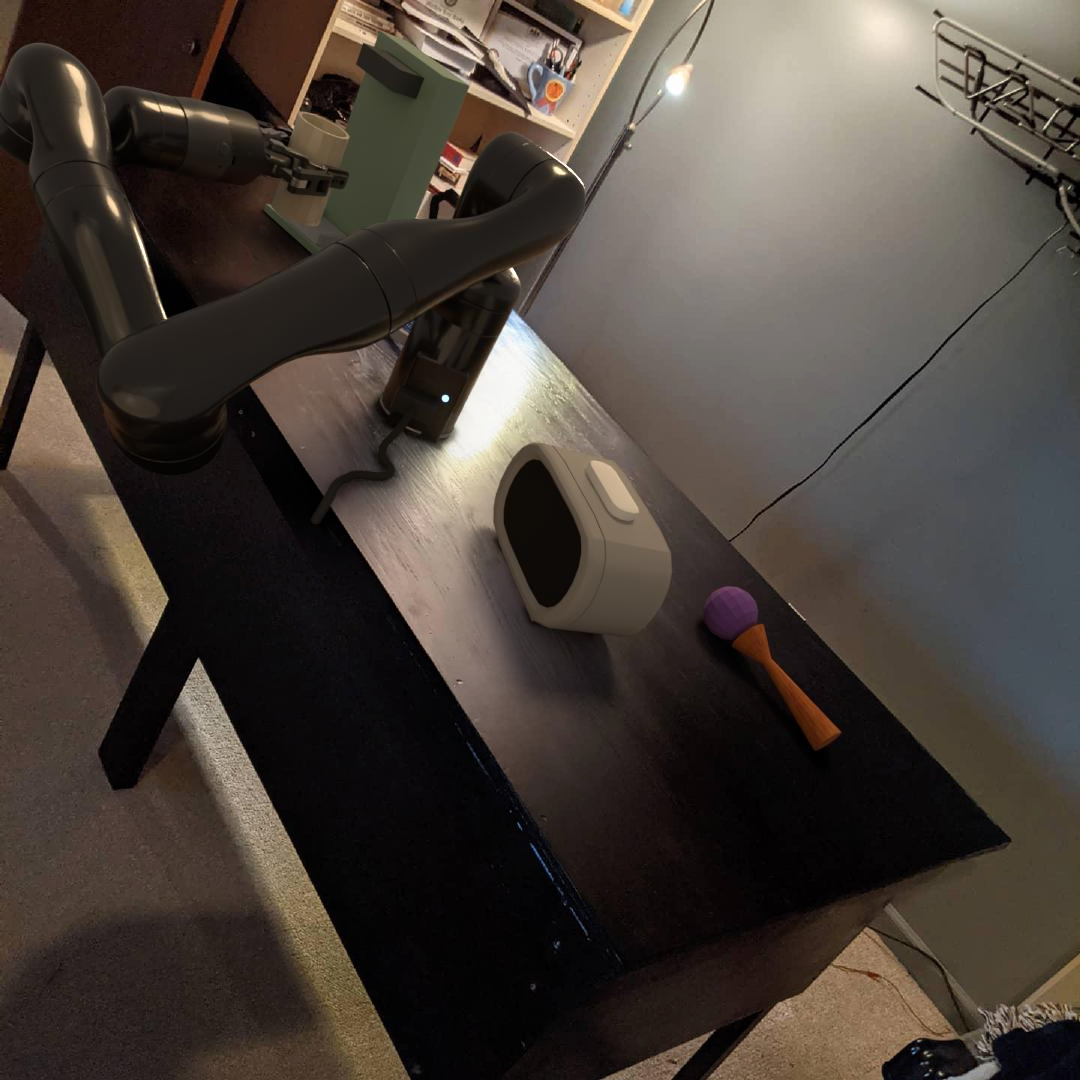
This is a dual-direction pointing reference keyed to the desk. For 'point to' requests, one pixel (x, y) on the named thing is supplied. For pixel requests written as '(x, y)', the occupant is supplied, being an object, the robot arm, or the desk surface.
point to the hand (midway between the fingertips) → (327, 165)
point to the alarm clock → (580, 542)
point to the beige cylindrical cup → (321, 147)
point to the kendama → (764, 657)
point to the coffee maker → (387, 141)
